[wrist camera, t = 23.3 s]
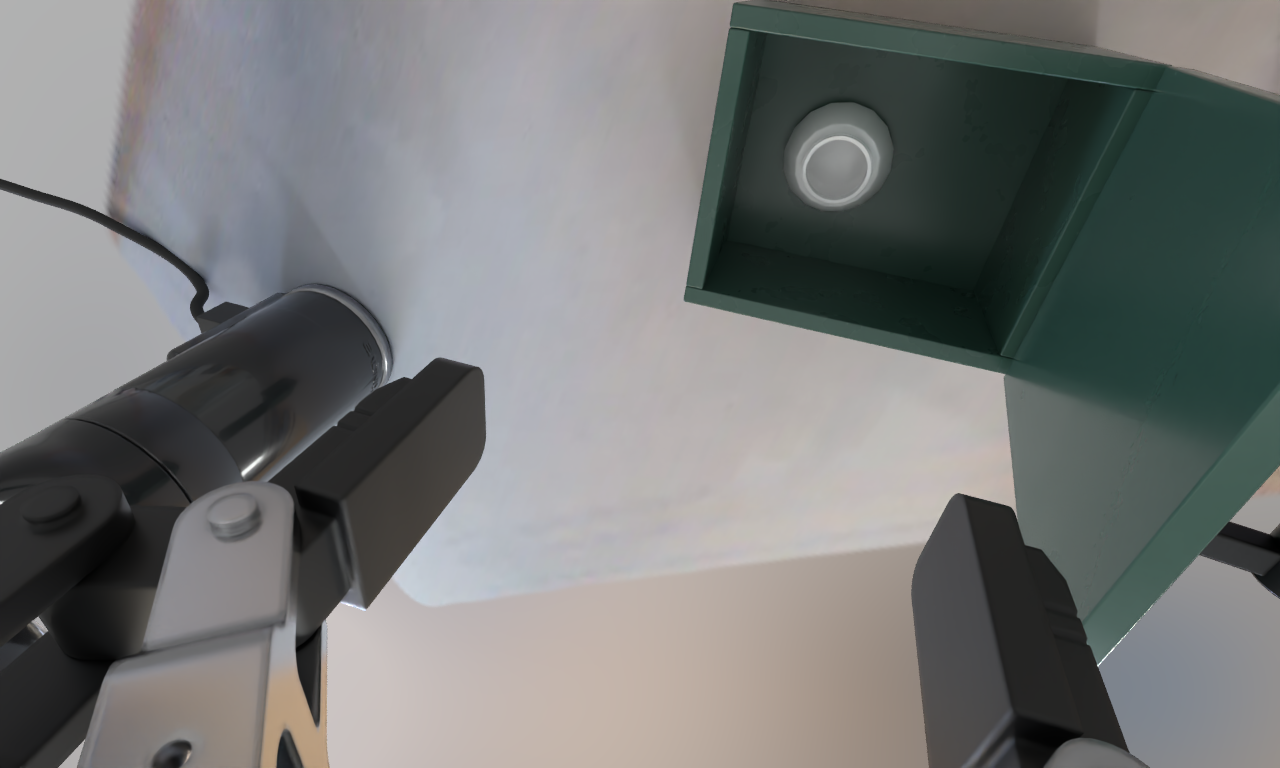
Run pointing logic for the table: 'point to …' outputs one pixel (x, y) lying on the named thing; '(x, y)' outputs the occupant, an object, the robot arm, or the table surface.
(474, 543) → the table surface
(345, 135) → the table surface
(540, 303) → the table surface
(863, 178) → the white jar
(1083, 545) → the bin lid
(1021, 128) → the waste bin
